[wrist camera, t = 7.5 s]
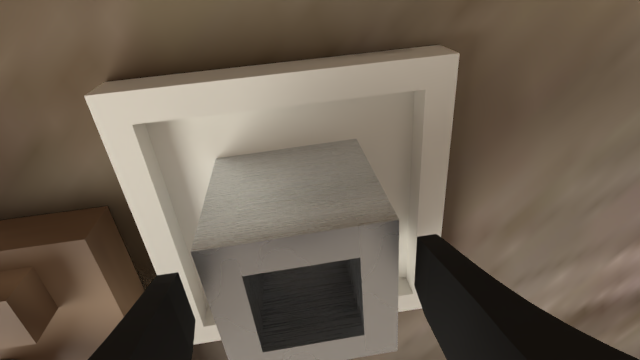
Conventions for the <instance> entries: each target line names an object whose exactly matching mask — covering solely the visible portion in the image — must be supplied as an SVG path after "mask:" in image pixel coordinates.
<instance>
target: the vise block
mask: <svg viewBox="0 0 640 360" xmlns="http://www.w3.org/2000/svg"><path fill="white" fill-rule="evenodd" d="M144 291H145V290H144V288H143V286H142V283H141V281H140V279H139V277H138V274H137V272H136V270H135V268H134V265H133V263H132V261H131V259H130V256H129V254H128V252H127V249H126V247H125V245H124V243H123V240H122V238H121V236H120V234H119V231H118V229H117V227H116V224H115V222H114V220H113V218H112V215H111V213H110V211H109V209H108V206H104V207H96V208H89V209H81V210H74V211H66V212H59V213H51V214H44V215H36V216H29V217H21V218H14V219H6V220H0V360H88V359H89V357H90V356H91V355H92V354H93V353H94V352H95V351H96V350H97V348H98V347H99V346H100V345H101V344H102V343H103V342H104V340H105V339H106V338H107V337H108V336H109V334H110V333H111V332H112V331H113V330H114V328H115V327H116V326H117V325H118V323H119V322H120V321H121V320H122V319H123V317H124V316H125V315H126V314H127V312H128V311H129V310H130V309H131V307H132V306H133V305H134V304H135V302H136V301H137V300H138V299H139V297H140V296H141V295H142V293H143V292H144Z"/></svg>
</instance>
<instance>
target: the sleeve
mask: <svg viewBox="0 0 640 360" xmlns="http://www.w3.org/2000/svg"><path fill="white" fill-rule="evenodd" d="M191 255H192V258H193V260H194V263H195V266H196V269H197V272H198V275H199V278H200V280H201V283H202V286H203V289H204V292H205V295H206V297H207V300H208V303H209V306H210V309H211V312H212V315H213V317H214V320H215V323H216V326H217V329H218V332H219V334H220V337H221V340H222V343H223V346H224V349H225V352H226V354H227V357H228V360H348V359H354V358H359V357H365V356H371V355H376V354H382V353H388V352H393V351H398V275H399V218H398V217H397V215H396V213H395V211H394V209H393V207H392V205H391V203H390V201H389V200H388V198H387V196H386V194H385V192H384V190H383V188H382V186H381V184H380V183H379V181H378V179H377V177H376V175H375V173H374V171H373V169H372V167H371V165H370V164H369V162H368V160H367V158H366V156H365V154H364V152H363V150H362V148H361V147H360V145H359V143H358V141H357V139H350V140H343V141H336V142H329V143H322V144H315V145H308V146H301V147H293V148H286V149H279V150H272V151H265V152H258V153H251V154H243V155H236V156H229V157H222V158H216V159H215V163H214V167H213V171H212V174H211V178H210V182H209V185H208V189H207V193H206V196H205V200H204V204H203V208H202V211H201V215H200V219H199V222H198V226H197V230H196V233H195V237H194V241H193V245H192V248H191Z"/></svg>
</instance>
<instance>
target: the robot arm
mask: <svg viewBox="0 0 640 360" xmlns="http://www.w3.org/2000/svg"><path fill="white" fill-rule="evenodd" d="M414 286H415V289H416V292H417V295H418V298H419V301H420V303H421V306H422V309H423V311H424V314H425V317H426V319H427V321H428V323H429V325H430V327H431V329H432V331H433V333H434V335H435V337H436V339H437V341H438V343H439V345H440V347H441V349H442V351H443V353H444V355H445V357H446V359H447V360H639V359H637V358H635V357H633V356H630V355H628V354H626V353H624V352H622V351H619V350H617V349H615V348H613V347H611V346H609V345H607V344H605V343H603V342H601V341H599V340H597V339H595V338H593V337H591V336H589V335H587V334H585V333H583V332H581V331H579V330H577V329H575V328H574V327H572V326H570V325H568V324H566V323H564V322H563V321H561V320H559V319H558V318H556V317H554V316H552V315H551V314H549V313H547V312H545V311H544V310H542V309H540V308H539V307H537V306H535V305H534V304H532V303H530V302H529V301H527V300H526V299H524V298H523V297H521V296H520V295H518V294H517V293H515V292H514V291H512V290H511V289H509V288H508V287H506V286H505V285H503V284H502V283H500V282H499V281H498V280H496V279H495V278H493V277H492V276H491V275H489V274H488V273H486V272H485V271H484V270H482V269H481V268H480V267H478V266H477V265H476V264H474V263H473V262H472V261H470V260H469V259H468V258H467V257H465V256H464V255H463V254H461V253H460V252H459V251H458V250H456V249H455V248H454V247H453V246H451V245H450V244H449V243H448V242H446V241H445V240H444V239H442V238H441V237H440V236H439V235H437V234H432V235H425V236H419V237H417V247H416V264H415V281H414ZM195 321H196V320H195V317H194V314H193V312H192V309H191V306H190V303H189V301H188V298H187V295H186V292H185V290H184V287H183V284H182V281H181V279H180V276H179V273H178V272H176V273H170V274H163V275H157V276H156V277H155V279H154V280H153V281H152V282H151V283H150V285H149V286H148V287H147V288H146V290H145V291H144V292H143V293H142V295H141V296H140V297H139V299H138V300H137V301H136V302H135V304H134V305H133V306H132V307H131V309H130V310H129V311H128V312H127V314H126V315H125V316H124V317H123V319H122V320H121V321H120V322H119V323H118V325H117V326H116V327H115V328H114V330H113V331H112V332H111V333H110V334H109V336H108V337H107V338H106V339H105V340H104V342H103V343H102V344H101V345H100V346H99V347H98V348H97V350H96V351H95V352H94V353H93V354H92V355H91V356H90V357H89V359H88V360H191V358H192V352H193V343H194V332H195Z"/></svg>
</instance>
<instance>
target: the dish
mask: <svg viewBox="0 0 640 360" xmlns="http://www.w3.org/2000/svg"><path fill="white" fill-rule="evenodd" d="M459 55H460V53H458V52H456V51H453V50H451V49H449V48H446V47H444V46H442V45H432V46H423V47H414V48H405V49H396V50H387V51H378V52H369V53H360V54H351V55H342V56H333V57H324V58H315V59H306V60H298V61H289V62H280V63H271V64H262V65H253V66H244V67H235V68H226V69H217V70H208V71H199V72H190V73H181V74H172V75H163V76H154V77H145V78H136V79H127V80H118V81H109V82H103V83H102V84H101V85H99V86H98V87H96V88H95V89H93V90H92V91H90V92H89V93H88V94H86V95H85V96H84V97H85V99H86V102H87V104H88V107H89V109H90V112H91V114H92V117H93V119H94V121H95V124H96V126H97V129H98V131H99V134H100V136H101V139H102V141H103V144H104V146H105V149H106V151H107V153H108V156H109V158H110V161H111V163H112V166H113V168H114V171H115V173H116V176H117V178H118V181H119V183H120V185H121V188H122V190H123V193H124V195H125V198H126V200H127V203H128V205H129V208H130V210H131V213H132V215H133V217H134V220H135V222H136V225H137V227H138V230H139V232H140V235H141V237H142V240H143V242H144V245H145V247H146V249H147V252H148V254H149V257H150V259H151V262H152V264H153V267H154V269H155V272H156V274H157V275H163V274H170V273H176V272H178V273H179V276H180V279H181V281H182V284H183V287H184V290H185V292H186V295H187V298H188V301H189V303H190V306H191V309H192V312H193V314H194V317H195V320H196V321H195V332H194V343H193V345H195V344H201V343H207V342H213V341H220V340H221V337H220V334H219V332H218V329H217V326H216V323H215V320H214V317H213V315H212V312H211V309H210V306H209V303H208V300H207V297H206V295H205V292H204V289H203V286H202V283H201V280H200V278H199V275H198V272H197V269H196V266H195V263H194V260H193V258H192V255H191V248H192V245H193V241H194V237H195V233H196V230H197V226H198V222H199V219H200V215H201V211H202V208H203V204H204V200H205V196H206V193H207V189H208V185H209V182H210V178H211V174H212V171H213V167H214V163H215V159H216V158H222V157H229V156H236V155H243V154H251V153H258V152H265V151H272V150H279V149H286V148H293V147H301V146H308V145H315V144H322V143H329V142H336V141H343V140H350V139H357V141H358V143H359V145H360V147H361V148H362V150H363V152H364V154H365V156H366V158H367V160H368V162H369V164H370V165H371V167H372V169H373V171H374V173H375V175H376V177H377V179H378V181H379V183H380V184H381V186H382V188H383V190H384V192H385V194H386V196H387V198H388V200H389V201H390V203H391V205H392V207H393V209H394V211H395V213H396V215H397V217H398V218H399V275H398V312H402V311H408V310H414V309H421V308H422V306H421V303H420V301H419V298H418V295H417V292H416V289H415V286H414V281H415V264H416V247H417V237H419V236H425V235H432V234H437V235H439V236H440V237H441V232H442V223H443V213H444V203H445V193H446V183H447V173H448V163H449V153H450V143H451V134H452V124H453V114H454V104H455V94H456V84H457V74H458V64H459Z"/></svg>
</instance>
